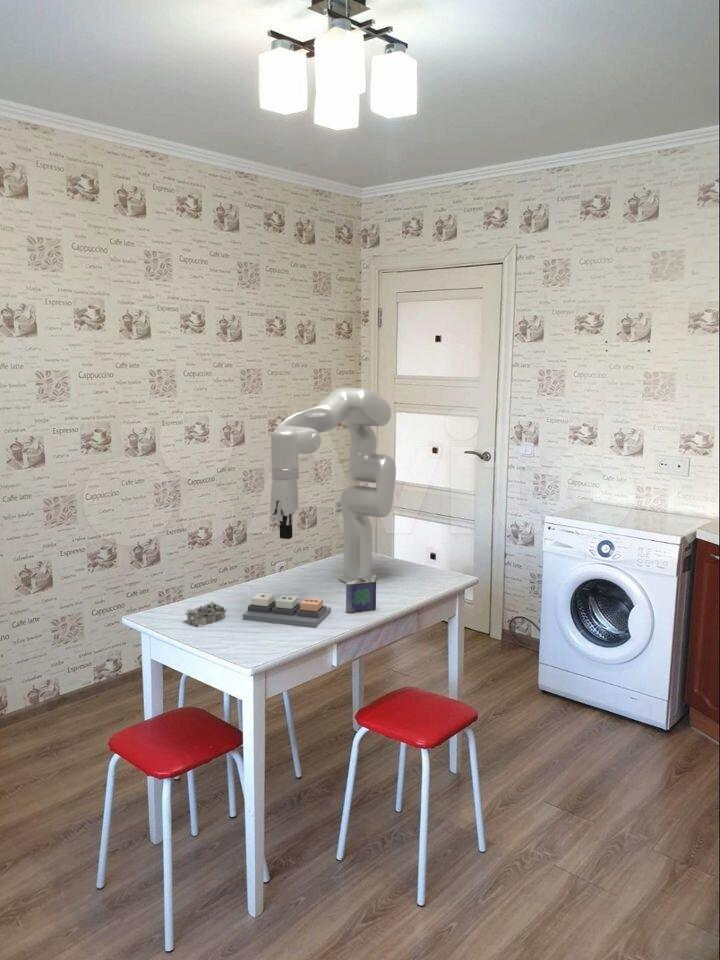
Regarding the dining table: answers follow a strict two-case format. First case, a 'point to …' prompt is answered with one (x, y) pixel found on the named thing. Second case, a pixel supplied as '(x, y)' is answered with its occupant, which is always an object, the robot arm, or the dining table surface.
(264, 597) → the tile
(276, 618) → the keypad board
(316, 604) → the tile
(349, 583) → the flask
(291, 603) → the tile
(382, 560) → the dining table surface
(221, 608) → the egg carton
